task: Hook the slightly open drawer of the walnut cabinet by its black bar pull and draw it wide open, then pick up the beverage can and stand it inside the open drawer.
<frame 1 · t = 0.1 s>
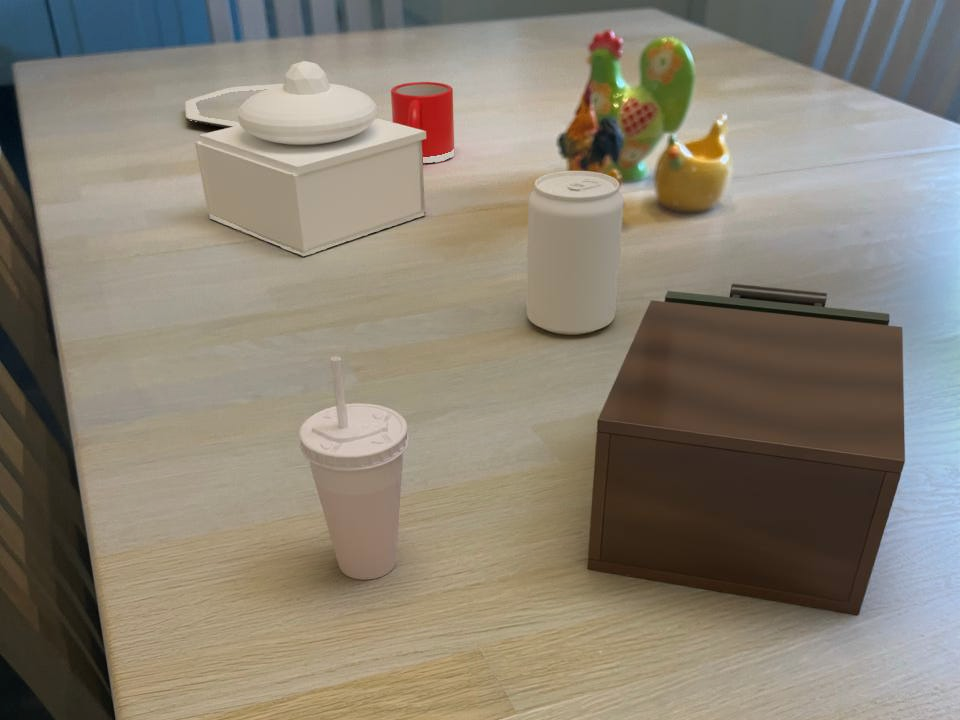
mug: (423, 161, 132), on the table
cabinet: (734, 514, 69), on the table
smoothie: (367, 564, 65), on the table
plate: (268, 115, 150), on the table
beverage can: (570, 322, 93), on the table
drawer: (758, 392, 71), point 5 cm above the table, slide at 3.0 cm
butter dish: (319, 219, 115), on the table
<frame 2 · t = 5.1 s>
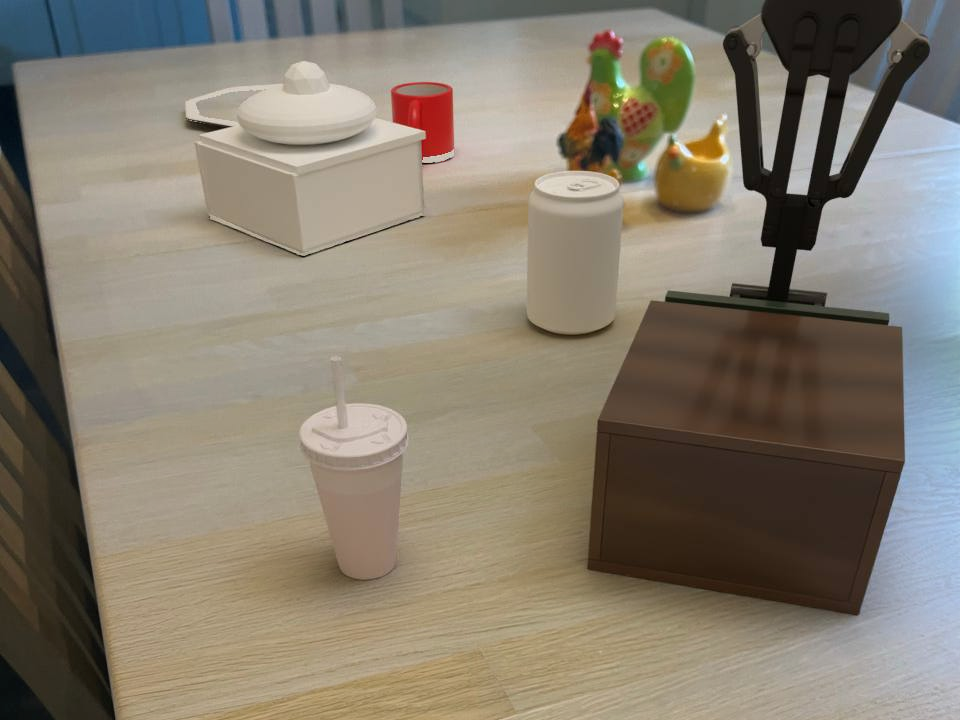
hand: (778, 291, 75), 9 cm above the table, tool pointing down, fingers closed
drawer: (758, 392, 71), point 5 cm above the table, slide at 3.1 cm, touching gripper
everything else where it was.
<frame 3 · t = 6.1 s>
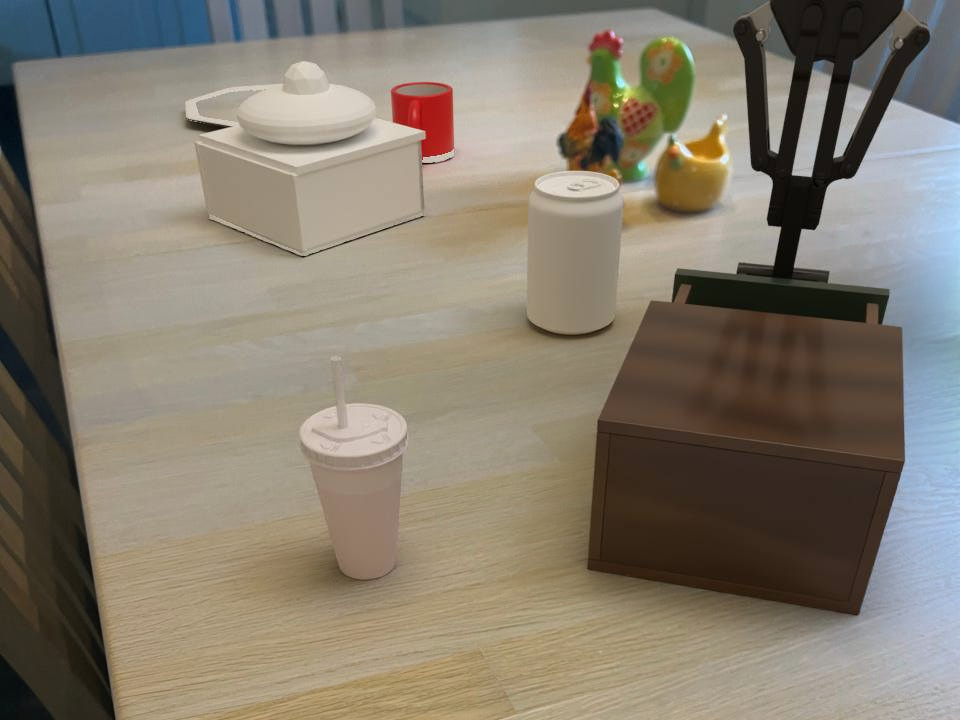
hand: (782, 269, 78), 9 cm above the table, tool pointing down, fingers closed
drawer: (764, 364, 74), point 5 cm above the table, slide at 7.5 cm, touching gripper
everything else where it was.
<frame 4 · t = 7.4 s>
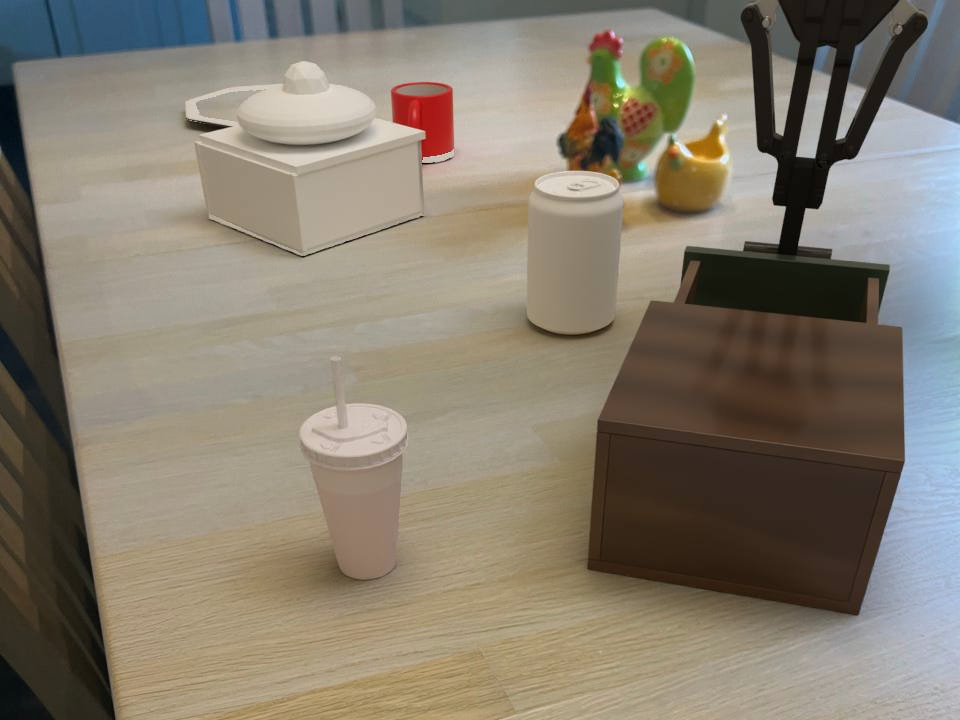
hand: (787, 247, 82), 9 cm above the table, tool pointing down, fingers closed
drawer: (770, 337, 77), point 5 cm above the table, slide at 12.4 cm, touching gripper
everything else where it was.
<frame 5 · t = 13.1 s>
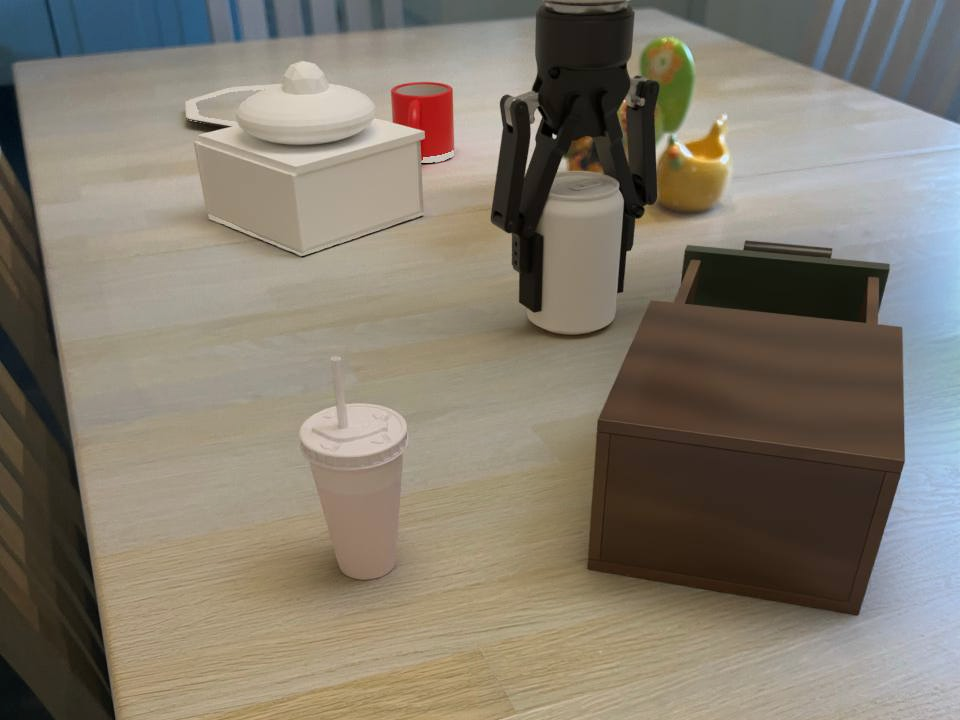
hand: (571, 296, 92), 2 cm above the table, tool pointing down, fingers closed on beverage can, 8 cm apart
beverage can: (570, 322, 93), on the table, touching gripper
drawer: (770, 336, 78), point 5 cm above the table, slide at 12.6 cm
everything else where it was.
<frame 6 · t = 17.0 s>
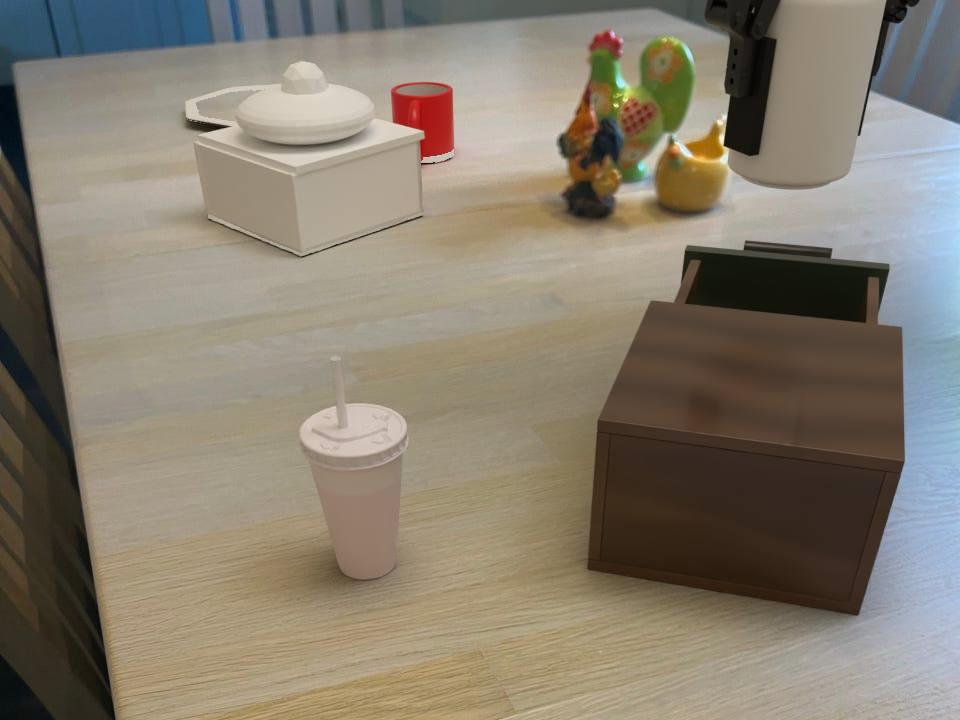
hand: (792, 140, 68), 20 cm above the table, tool pointing down, fingers closed on beverage can, 8 cm apart
beverage can: (785, 178, 69), point 17 cm above the table, touching gripper
everything else where it was.
when the fingers open (4 cm above the table, at t = 20.9 s): beverage can stays where it is, resting on drawer.
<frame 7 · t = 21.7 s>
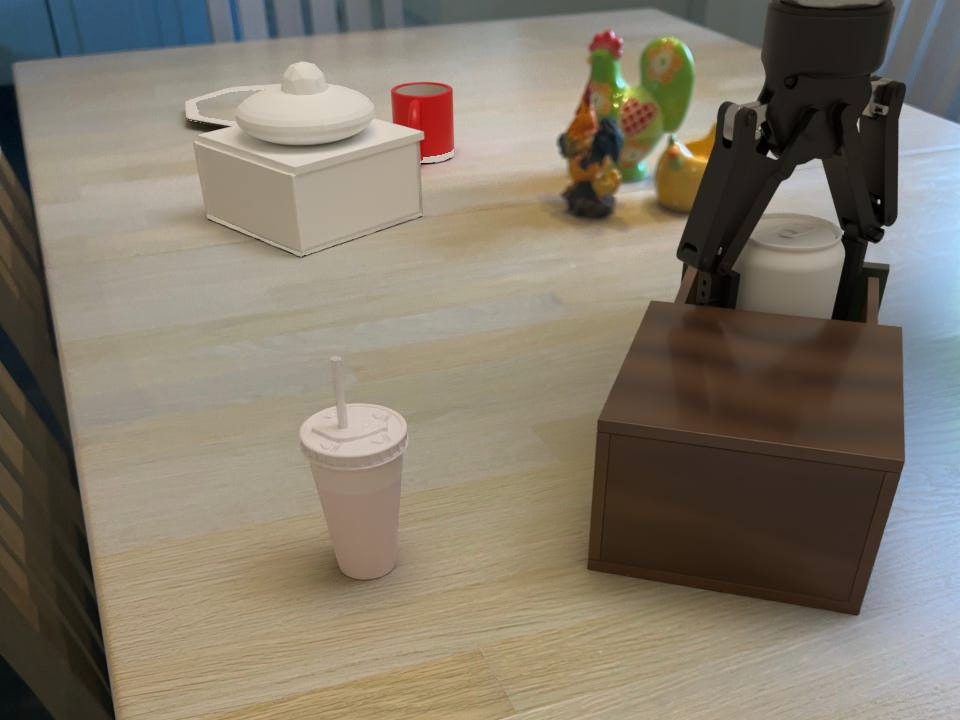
hand: (771, 340, 76), 6 cm above the table, tool pointing down, fingers open, 10 cm apart
beverage can: (759, 390, 78), point 2 cm above the table, touching drawer
drawer: (770, 336, 78), point 5 cm above the table, slide at 12.5 cm, touching beverage can
everything else where it was.
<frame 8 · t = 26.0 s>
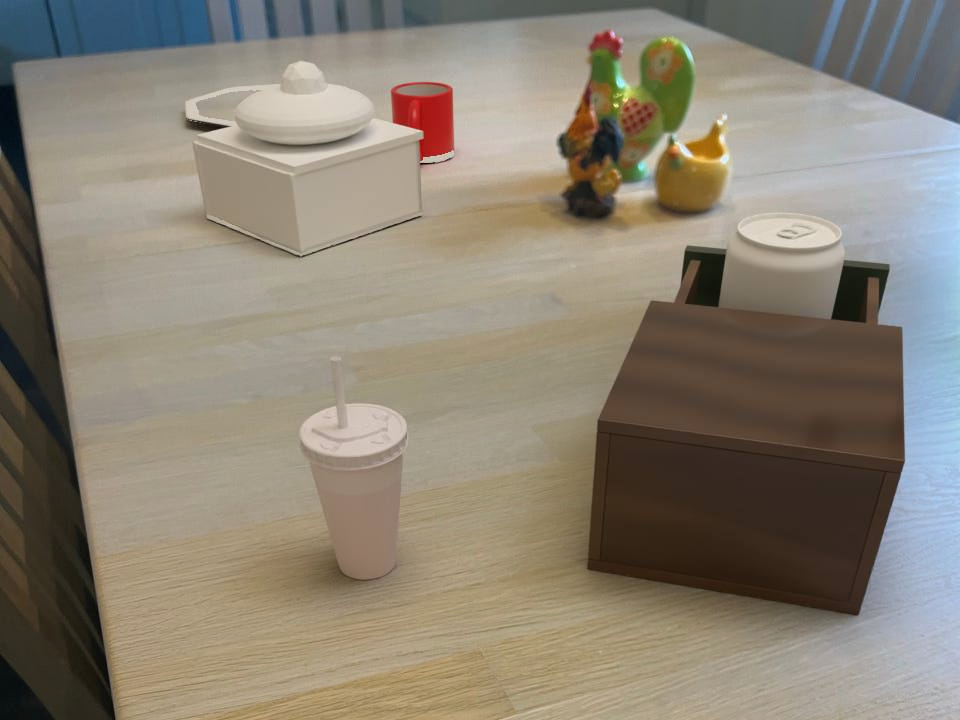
nothing on the table moved.
at the end: drawer slide at 12.5 cm; beverage can inside the target area in the drawer (0.9 cm from its centre), point 1.8 cm above the cabinet's base; beverage can tilted 0° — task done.
